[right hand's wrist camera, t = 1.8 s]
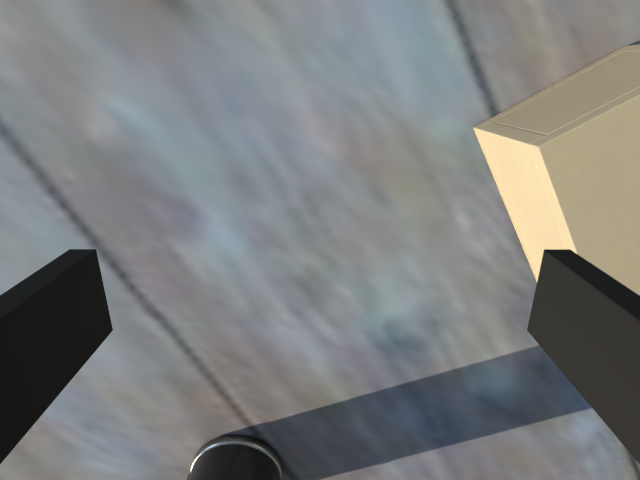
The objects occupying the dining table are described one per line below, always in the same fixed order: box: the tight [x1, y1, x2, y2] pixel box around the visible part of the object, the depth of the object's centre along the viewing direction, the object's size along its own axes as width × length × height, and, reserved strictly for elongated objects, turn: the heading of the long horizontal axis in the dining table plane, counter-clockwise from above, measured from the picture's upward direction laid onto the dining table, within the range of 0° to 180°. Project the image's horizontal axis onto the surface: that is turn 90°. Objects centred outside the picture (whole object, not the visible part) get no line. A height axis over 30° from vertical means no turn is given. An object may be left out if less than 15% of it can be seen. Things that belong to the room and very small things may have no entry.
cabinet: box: [474, 44, 640, 295], centre depth 29 cm, size 20×12×10 cm, turn 29°
